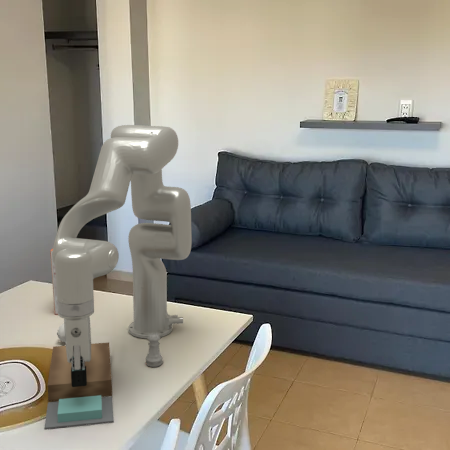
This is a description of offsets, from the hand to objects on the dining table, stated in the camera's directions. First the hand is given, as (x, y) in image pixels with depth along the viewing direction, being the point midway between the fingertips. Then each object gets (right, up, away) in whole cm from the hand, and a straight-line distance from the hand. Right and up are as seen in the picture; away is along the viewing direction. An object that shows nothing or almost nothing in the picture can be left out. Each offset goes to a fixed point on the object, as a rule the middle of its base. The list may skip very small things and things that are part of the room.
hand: (79, 384), depth 129 cm
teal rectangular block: (+1, -3, -3) cm, 5 cm away
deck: (-3, -2, +13) cm, 14 cm away
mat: (+1, -6, -2) cm, 6 cm away
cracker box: (-17, +9, +57) cm, 60 cm away
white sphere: (-11, +2, +31) cm, 33 cm away
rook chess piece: (+14, 0, +21) cm, 25 cm away
